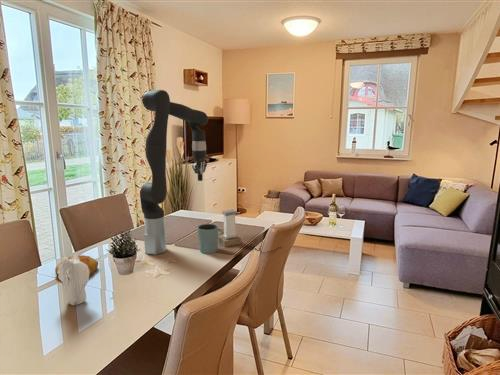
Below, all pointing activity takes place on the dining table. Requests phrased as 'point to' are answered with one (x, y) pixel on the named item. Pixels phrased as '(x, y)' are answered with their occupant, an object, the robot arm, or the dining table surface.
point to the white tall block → (229, 224)
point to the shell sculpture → (74, 279)
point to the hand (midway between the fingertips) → (200, 180)
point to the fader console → (227, 241)
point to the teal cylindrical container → (208, 238)
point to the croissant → (87, 260)
